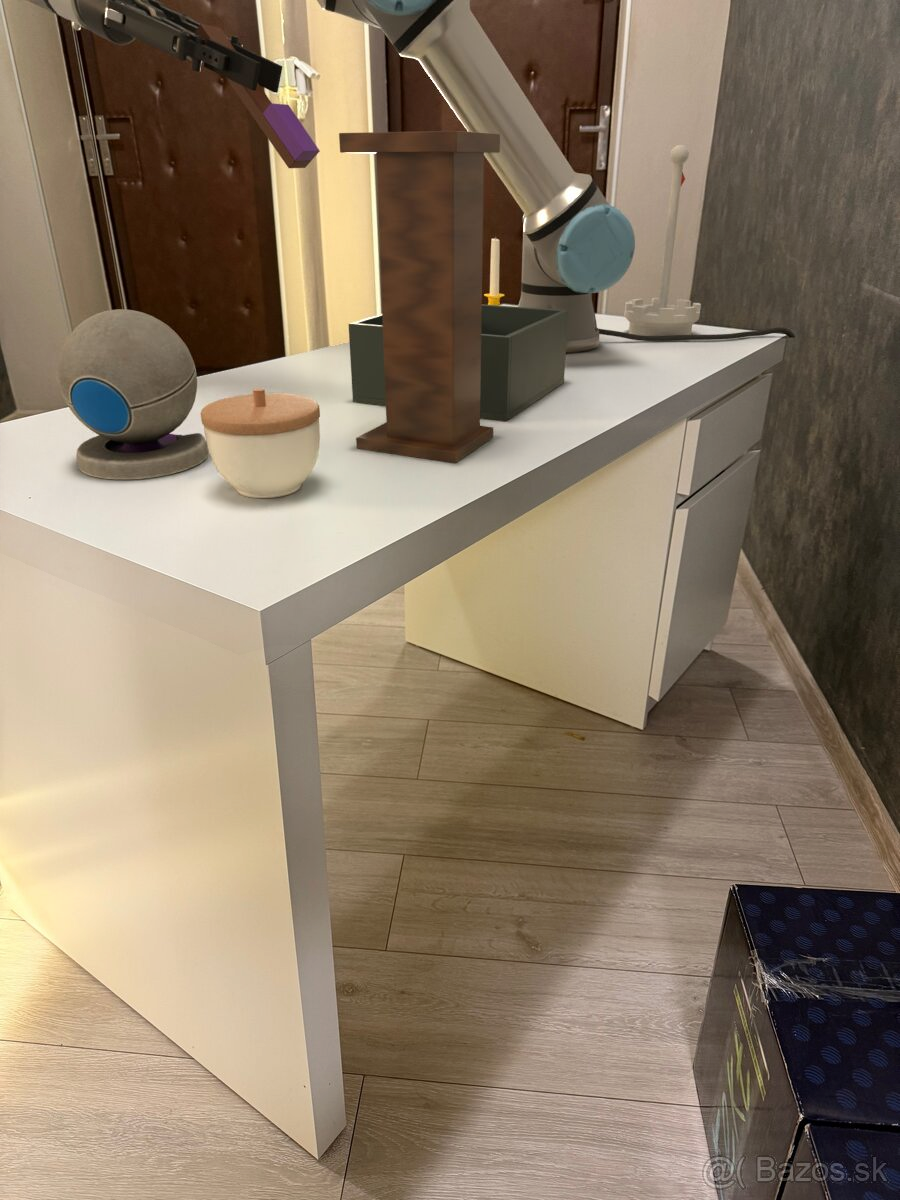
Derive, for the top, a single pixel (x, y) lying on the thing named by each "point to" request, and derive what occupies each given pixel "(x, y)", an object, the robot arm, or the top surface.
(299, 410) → the trinket box
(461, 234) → the shelf stand
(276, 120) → the scrub brush
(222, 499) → the top surface
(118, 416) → the webcam
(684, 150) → the flag stand
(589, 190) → the robot arm
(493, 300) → the candle
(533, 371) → the dark green open box
